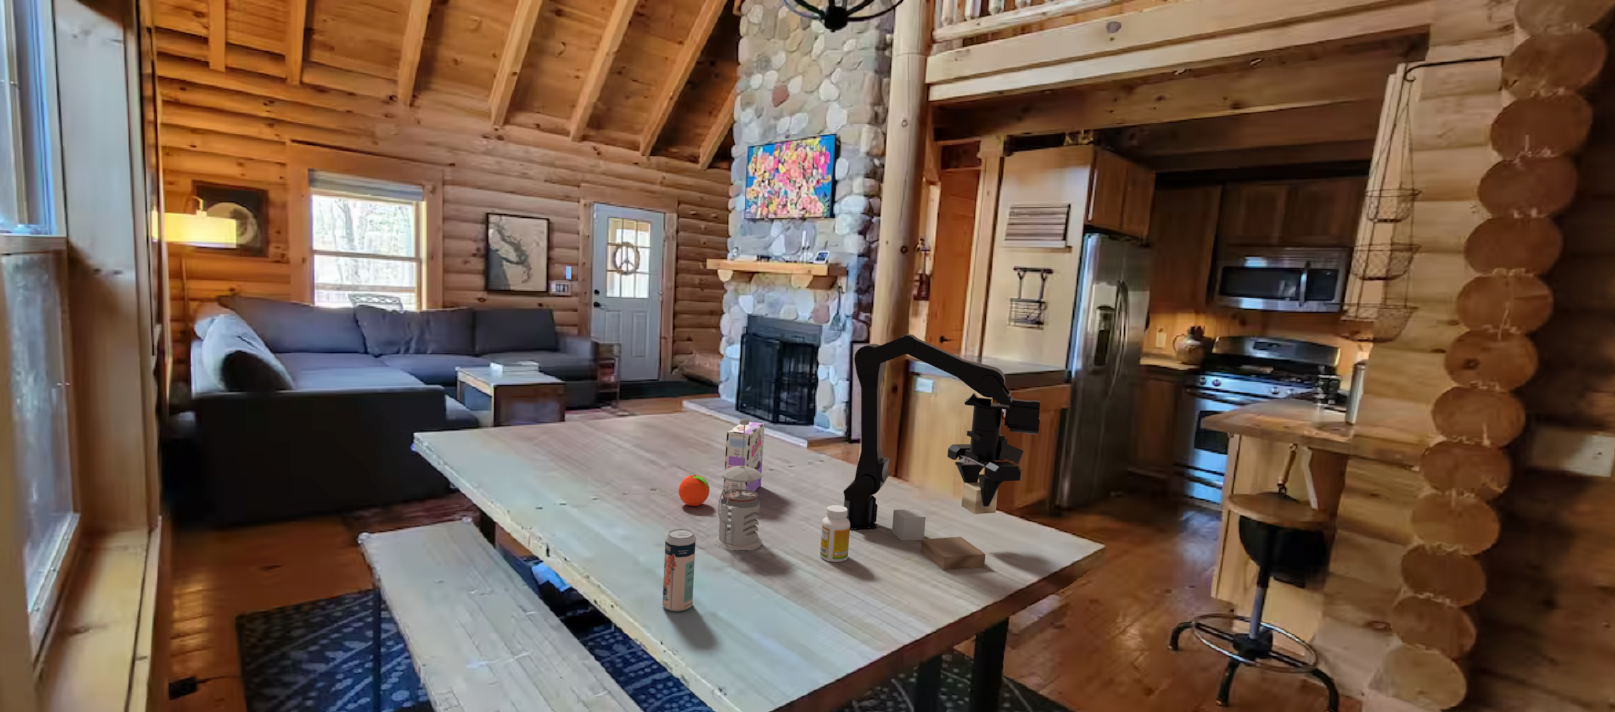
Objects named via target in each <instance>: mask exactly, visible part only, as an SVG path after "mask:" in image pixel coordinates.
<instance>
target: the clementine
mask: <svg viewBox="0 0 1615 712" xmlns="http://www.w3.org/2000/svg"><path fill="white" fill-rule="evenodd" d="M678 495H679V498H680V501H682V502H683V503H684V504H685V505H687V506H692V507H696V506H697V507H698V506H700V505H701V504H704V503H705V502H706V500H708V498H709V495H710V485H709V482H708V481H707V480H706V478H704V477H702V476H701V475H700V474H698V475H697V474H692V475H688V476H686V477H685V478H683V480H682V481H681V482H680V484H679V487H678Z"/></svg>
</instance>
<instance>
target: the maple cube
mask: <svg viewBox="0 0 1615 712" xmlns="http://www.w3.org/2000/svg"><path fill="white" fill-rule="evenodd" d="M998 493H999V488H998V489H997V491H996V493H995V495H994V497H993V499H992V501H991V503H990V505H989V506H988V507H985V506H983V501H982V496H981V489H980V483H979V481H978V482H974V483H964V482H963V487H962V495H961V496H962V497H961V507H962V508H964V509H965V510H967V511H968V512H970V513H972V514H974V515H981V514H983V515H984V514H996V512H997V500H998Z"/></svg>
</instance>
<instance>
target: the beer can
mask: <svg viewBox="0 0 1615 712" xmlns="http://www.w3.org/2000/svg"><path fill="white" fill-rule="evenodd" d="M696 542H697V538H696V536H695V533H694V531H692V530H690V529H688V528H687V529H686V528H676V529H675V528H673V529H672V530H669V532H668V533H667V535H666V536H665V539H664V543H665V544H664V560H663V561H664V562H663V563H664V565H663V585H662V586H663V589H662V606H663V608H665V609H667V610H668V611H670V612H675V613H676V612H677V613H678V612H684V611H686V610H687V609H690V608H691V607H692V606H693V604H694V600H693V598H694V597H693V596H694V581H695V580H694V578H695V577H694V576H695V559H696Z"/></svg>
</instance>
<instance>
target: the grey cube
mask: <svg viewBox="0 0 1615 712" xmlns="http://www.w3.org/2000/svg"><path fill="white" fill-rule="evenodd" d="M892 514H893V515H892V525H891V526H892V528H891V533H892V534H894V535H895V534H896V535H897V536H898V537H899V540H901V541H902V542H906V541H918V540H921V541H922V539H925V529H926V518H927V517H926V516H925V515H924V514H922V513H921V512H920V511H918V510H917V509H915V508H906V509H905V508H904V509H894V510H893V513H892ZM896 535H895V536H896ZM897 536H896V537H897ZM898 537H897V538H898Z"/></svg>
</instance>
